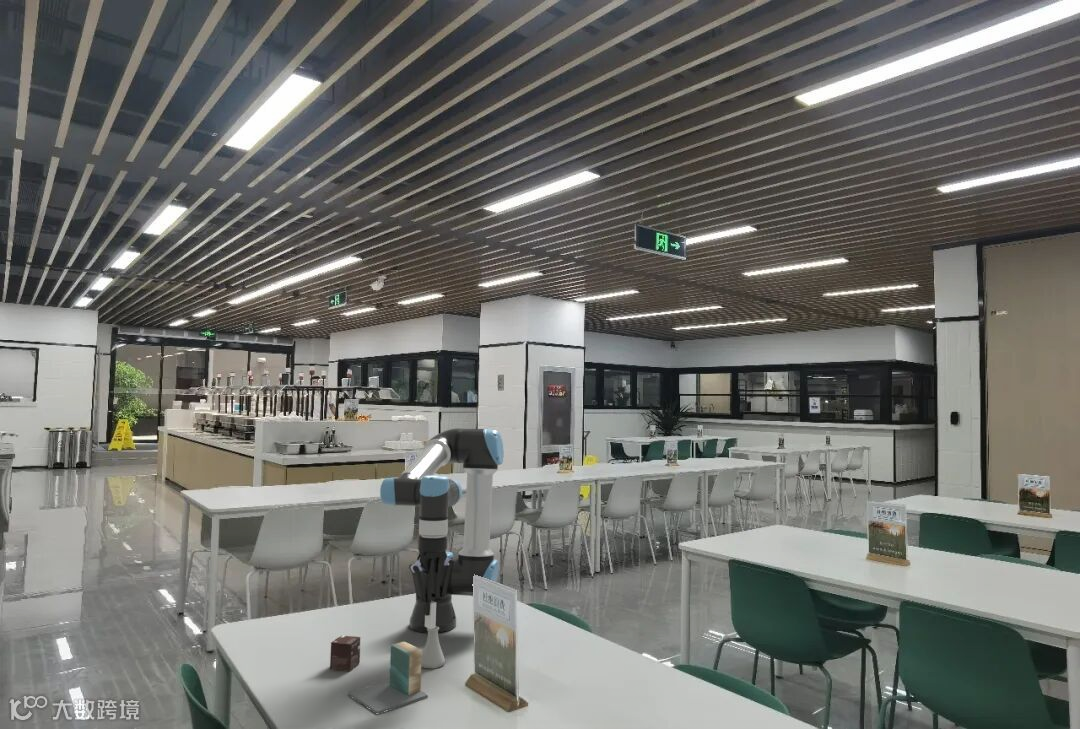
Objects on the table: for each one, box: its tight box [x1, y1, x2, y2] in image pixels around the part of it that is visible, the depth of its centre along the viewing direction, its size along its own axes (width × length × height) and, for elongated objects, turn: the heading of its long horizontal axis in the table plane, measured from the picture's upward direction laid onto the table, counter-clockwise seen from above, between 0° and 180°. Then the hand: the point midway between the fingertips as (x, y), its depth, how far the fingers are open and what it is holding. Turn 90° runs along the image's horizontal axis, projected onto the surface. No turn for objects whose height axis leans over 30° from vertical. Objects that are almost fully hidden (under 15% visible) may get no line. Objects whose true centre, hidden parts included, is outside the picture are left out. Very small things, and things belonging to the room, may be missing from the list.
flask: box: [421, 626, 446, 670], centre depth 184 cm, size 7×7×10 cm
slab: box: [389, 641, 423, 695], centre depth 167 cm, size 4×8×10 cm, turn 44°
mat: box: [347, 679, 429, 714], centre depth 163 cm, size 14×14×1 cm
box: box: [329, 635, 361, 672], centre depth 181 cm, size 6×6×7 cm
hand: (430, 627), depth 172 cm, fingers closed
